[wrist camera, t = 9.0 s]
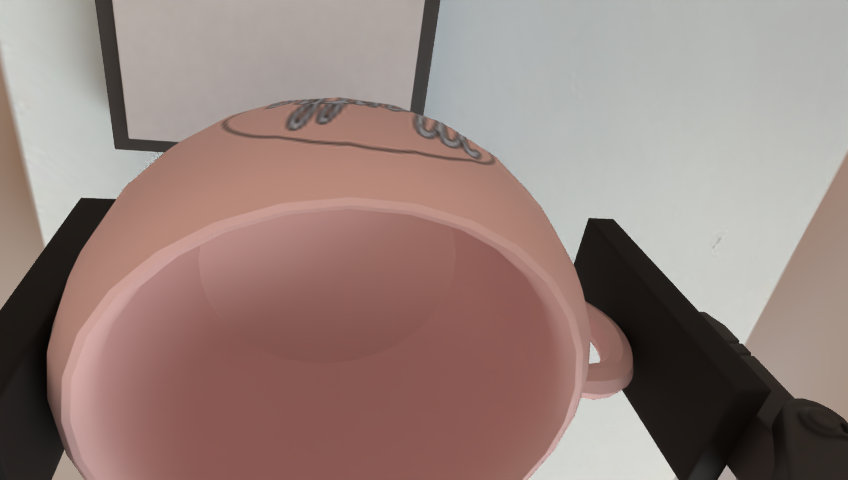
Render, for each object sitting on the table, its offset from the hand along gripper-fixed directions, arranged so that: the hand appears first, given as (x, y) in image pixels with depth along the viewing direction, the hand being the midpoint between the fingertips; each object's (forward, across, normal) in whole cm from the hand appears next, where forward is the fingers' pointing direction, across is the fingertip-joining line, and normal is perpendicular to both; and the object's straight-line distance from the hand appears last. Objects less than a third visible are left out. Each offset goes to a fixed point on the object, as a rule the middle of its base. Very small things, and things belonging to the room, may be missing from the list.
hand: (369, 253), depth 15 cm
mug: (0, 0, 0) cm, 0 cm away
